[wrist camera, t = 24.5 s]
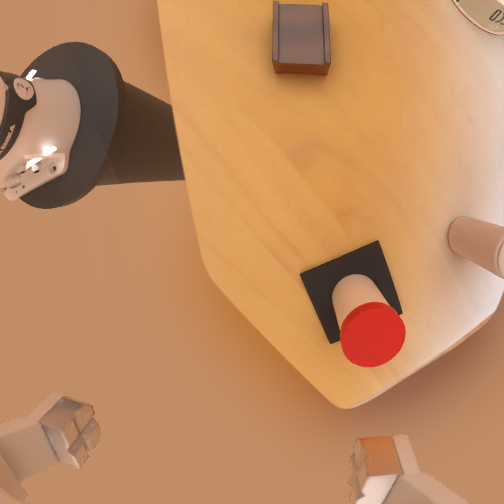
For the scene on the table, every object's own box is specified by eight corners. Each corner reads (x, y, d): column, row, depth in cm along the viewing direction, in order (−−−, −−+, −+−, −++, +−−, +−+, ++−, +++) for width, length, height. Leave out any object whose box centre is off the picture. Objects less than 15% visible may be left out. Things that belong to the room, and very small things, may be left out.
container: (397, 367, 27) (411, 309, 25) (337, 366, 28) (346, 306, 26) (374, 320, 37) (382, 273, 36) (327, 318, 38) (333, 270, 37)
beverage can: (450, 211, 34) (504, 226, 22) (479, 220, 33) (536, 237, 22) (442, 249, 35) (492, 278, 23) (471, 256, 34) (523, 285, 23)
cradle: (327, 75, 32) (330, 63, 28) (275, 73, 33) (272, 60, 29) (325, 19, 31) (327, 2, 26) (275, 17, 31) (273, 0, 27)
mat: (329, 342, 39) (330, 344, 39) (300, 273, 38) (300, 274, 37) (401, 312, 37) (402, 313, 37) (377, 240, 36) (378, 241, 35)
